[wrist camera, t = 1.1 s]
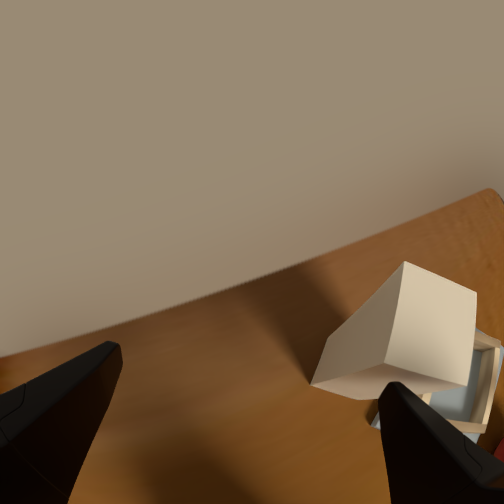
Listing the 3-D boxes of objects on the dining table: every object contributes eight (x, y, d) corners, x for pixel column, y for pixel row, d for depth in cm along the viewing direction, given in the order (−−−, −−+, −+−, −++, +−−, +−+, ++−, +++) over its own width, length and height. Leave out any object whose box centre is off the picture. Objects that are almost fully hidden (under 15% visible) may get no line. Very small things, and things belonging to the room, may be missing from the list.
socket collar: (470, 433, 13) (484, 433, 12) (401, 423, 15) (414, 424, 14) (487, 346, 17) (500, 340, 16) (425, 324, 19) (438, 316, 17)
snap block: (357, 399, 17) (466, 386, 7) (309, 384, 18) (384, 362, 7) (372, 352, 19) (476, 292, 8) (327, 337, 20) (404, 260, 9)
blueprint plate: (498, 350, 18) (504, 348, 17) (461, 460, 13) (467, 461, 12) (423, 301, 21) (428, 297, 20) (370, 425, 16) (375, 426, 15)
